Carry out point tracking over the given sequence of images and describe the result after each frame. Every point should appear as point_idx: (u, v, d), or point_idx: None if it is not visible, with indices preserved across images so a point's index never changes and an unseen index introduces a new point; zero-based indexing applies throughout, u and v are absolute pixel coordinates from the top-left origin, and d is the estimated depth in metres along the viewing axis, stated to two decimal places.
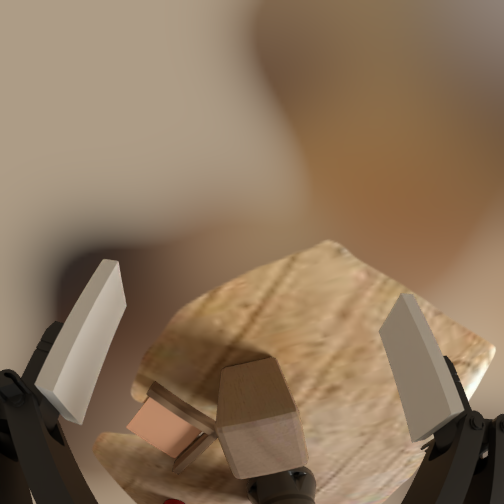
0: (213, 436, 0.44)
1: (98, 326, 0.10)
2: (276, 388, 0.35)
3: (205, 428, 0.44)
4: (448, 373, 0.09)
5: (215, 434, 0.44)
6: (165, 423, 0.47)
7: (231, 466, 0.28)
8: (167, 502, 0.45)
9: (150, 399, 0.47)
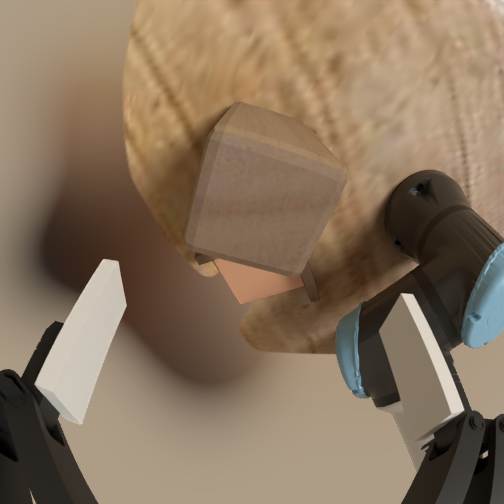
0: None
1: (98, 326, 0.10)
2: None
3: None
4: (448, 373, 0.09)
5: None
6: None
7: (265, 269, 0.23)
8: None
9: (217, 261, 0.47)
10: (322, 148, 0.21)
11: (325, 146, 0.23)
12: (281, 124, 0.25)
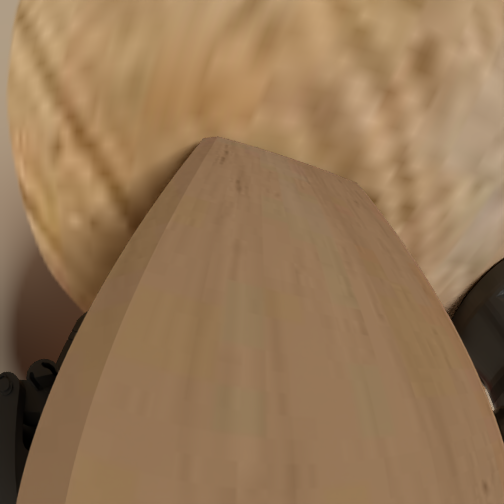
0: None
1: None
2: None
3: None
4: None
5: None
6: None
7: None
8: None
9: None
10: (492, 457, 0.03)
11: (485, 397, 0.05)
12: (346, 275, 0.07)
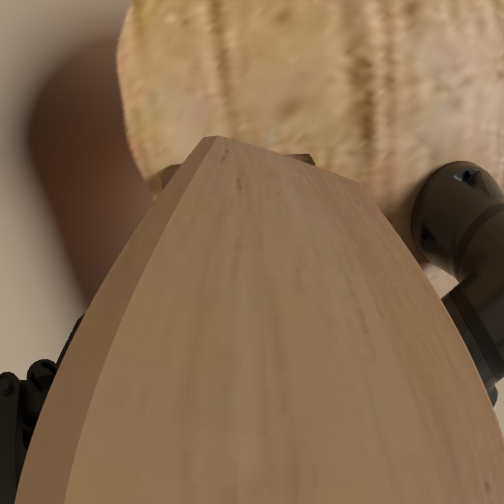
0: None
1: None
2: None
3: None
4: None
5: None
6: None
7: None
8: None
9: None
10: (494, 456, 0.03)
11: (486, 395, 0.05)
12: (347, 273, 0.07)
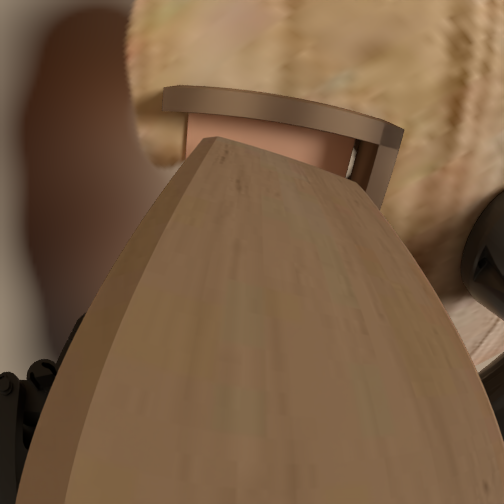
0: (390, 141, 0.16)
1: None
2: None
3: (363, 124, 0.15)
4: None
5: (392, 134, 0.16)
6: None
7: None
8: None
9: (192, 139, 0.19)
10: (493, 457, 0.03)
11: (486, 396, 0.05)
12: (346, 274, 0.07)
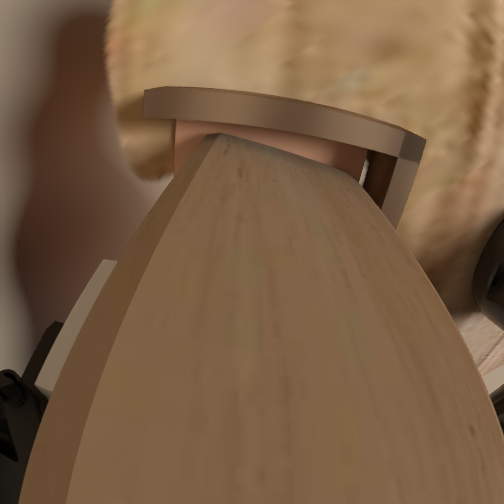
0: (410, 153, 0.13)
1: None
2: None
3: (380, 133, 0.13)
4: None
5: (413, 146, 0.13)
6: None
7: None
8: None
9: (180, 148, 0.17)
10: (477, 405, 0.04)
11: (467, 352, 0.06)
12: (333, 243, 0.08)
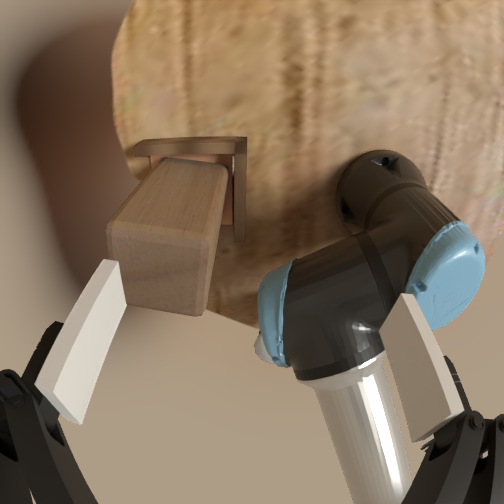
0: (240, 150, 0.35)
1: (98, 326, 0.10)
2: None
3: (223, 146, 0.35)
4: (448, 373, 0.09)
5: (240, 147, 0.35)
6: None
7: (174, 312, 0.29)
8: None
9: (153, 165, 0.40)
10: (201, 213, 0.27)
11: (210, 206, 0.28)
12: (182, 187, 0.31)
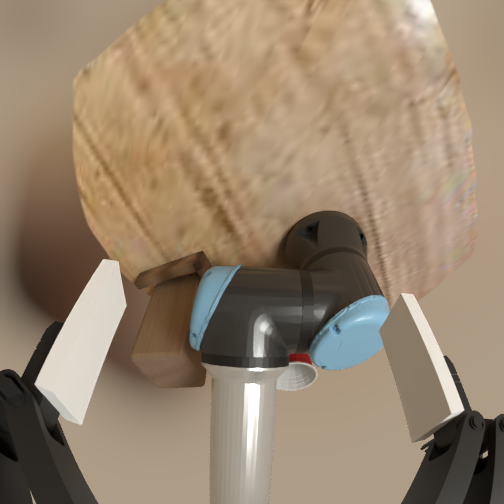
0: (198, 267, 0.51)
1: (98, 326, 0.10)
2: None
3: (187, 269, 0.51)
4: (448, 373, 0.09)
5: (197, 265, 0.51)
6: None
7: None
8: None
9: (155, 286, 0.58)
10: (177, 335, 0.43)
11: (183, 326, 0.44)
12: (167, 312, 0.47)
